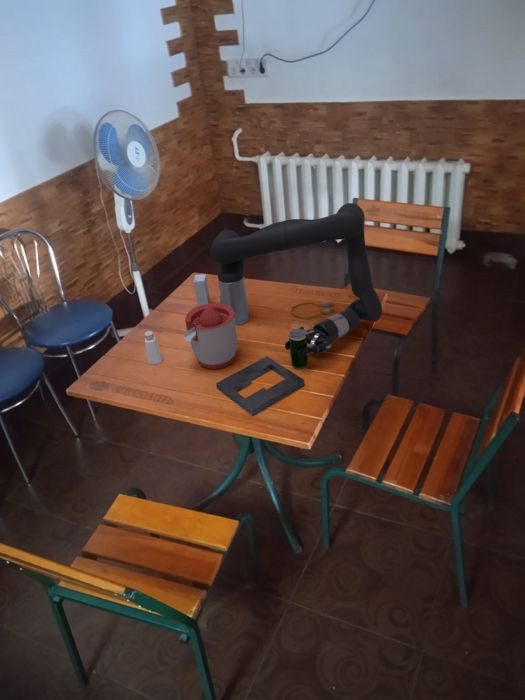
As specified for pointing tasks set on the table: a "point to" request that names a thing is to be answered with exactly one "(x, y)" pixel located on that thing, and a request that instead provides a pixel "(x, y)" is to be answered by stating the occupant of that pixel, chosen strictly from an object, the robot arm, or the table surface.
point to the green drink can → (298, 348)
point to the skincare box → (201, 289)
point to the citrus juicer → (212, 334)
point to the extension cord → (326, 304)
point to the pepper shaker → (152, 349)
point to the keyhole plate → (262, 396)
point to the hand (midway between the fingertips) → (292, 350)
